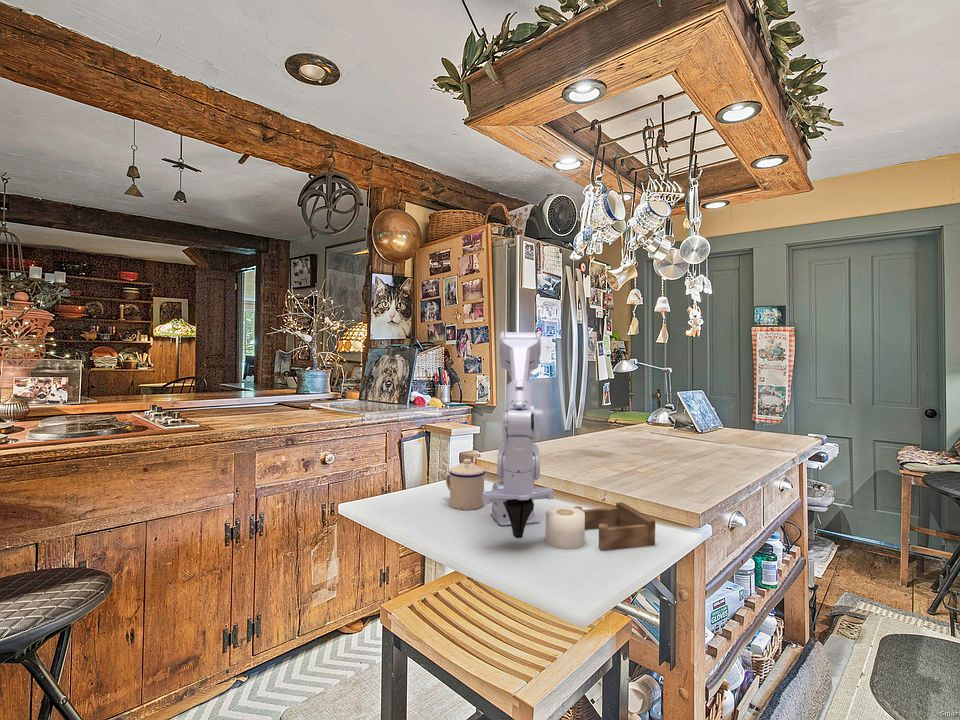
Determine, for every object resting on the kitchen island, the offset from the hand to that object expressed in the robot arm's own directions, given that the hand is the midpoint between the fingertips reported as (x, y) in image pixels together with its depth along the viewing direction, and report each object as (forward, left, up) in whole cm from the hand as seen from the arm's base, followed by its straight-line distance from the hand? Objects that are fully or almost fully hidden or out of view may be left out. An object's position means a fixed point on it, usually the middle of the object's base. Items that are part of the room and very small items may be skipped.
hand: (517, 536), depth 98 cm
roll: (+10, 0, -2) cm, 11 cm away
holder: (+20, 0, -2) cm, 20 cm away
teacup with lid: (-5, +29, -2) cm, 29 cm away
